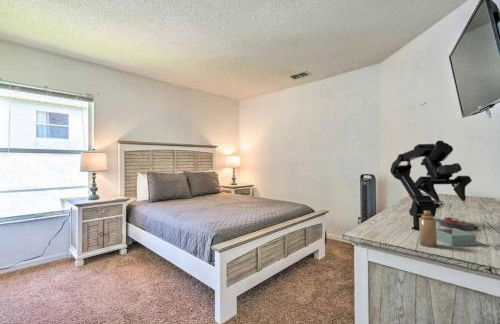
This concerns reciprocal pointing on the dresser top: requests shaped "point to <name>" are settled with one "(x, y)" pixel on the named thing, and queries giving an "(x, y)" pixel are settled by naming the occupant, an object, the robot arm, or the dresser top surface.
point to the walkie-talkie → (456, 224)
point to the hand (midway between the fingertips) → (451, 200)
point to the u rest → (457, 238)
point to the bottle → (428, 230)
